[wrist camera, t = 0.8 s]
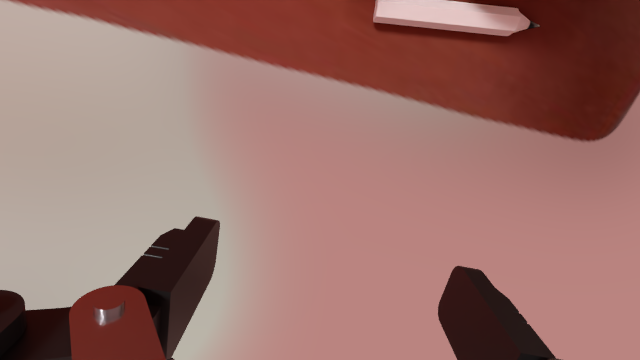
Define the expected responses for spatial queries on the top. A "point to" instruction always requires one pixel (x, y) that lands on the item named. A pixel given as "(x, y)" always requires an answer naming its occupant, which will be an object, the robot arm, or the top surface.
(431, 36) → the top surface
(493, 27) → the marker
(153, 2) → the top surface
